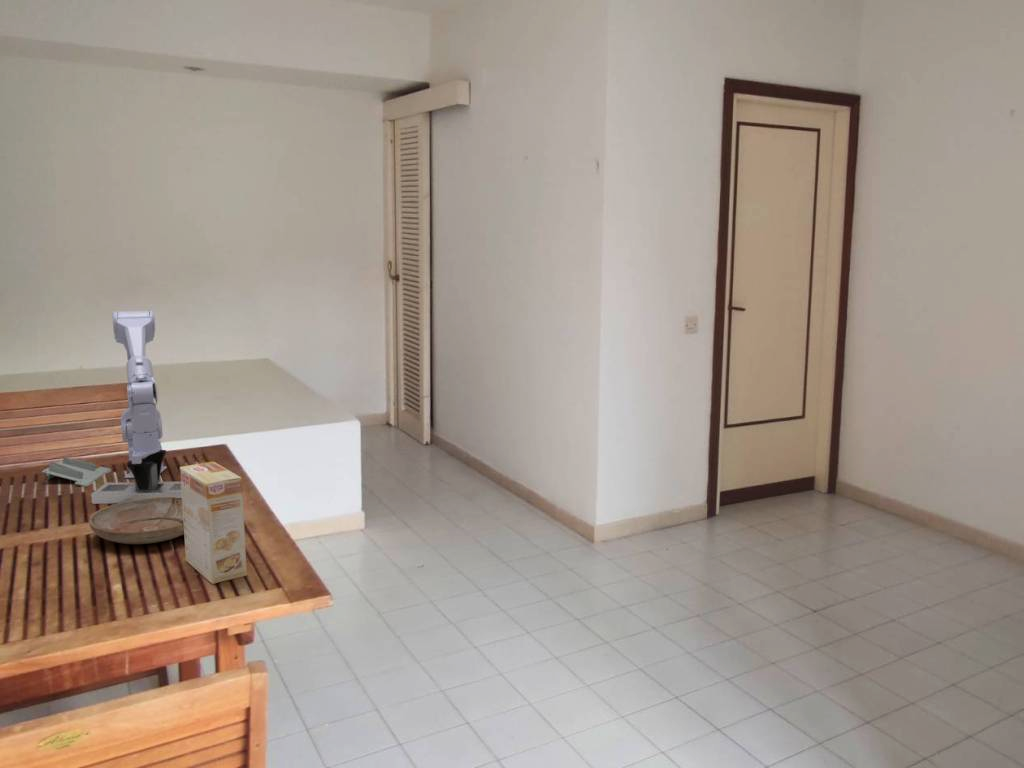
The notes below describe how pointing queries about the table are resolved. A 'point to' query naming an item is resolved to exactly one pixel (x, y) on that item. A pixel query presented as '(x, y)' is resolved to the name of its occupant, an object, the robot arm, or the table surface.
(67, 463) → the metal bracket
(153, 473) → the square peg
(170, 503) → the ceramic bowl
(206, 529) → the coffeecake box
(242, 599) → the table surface
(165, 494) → the hole rail
